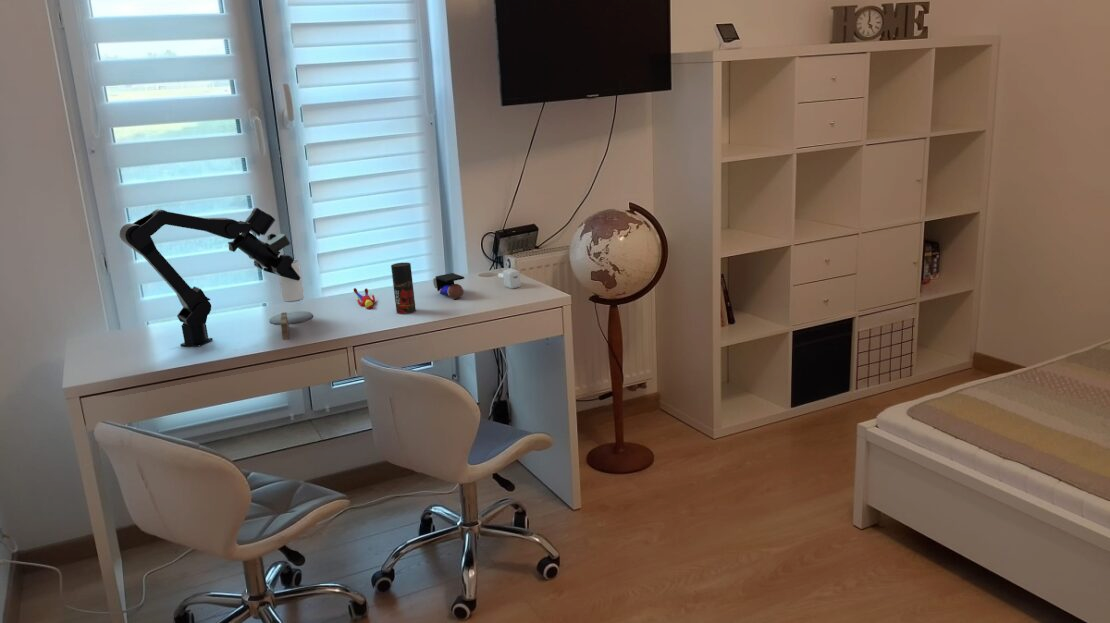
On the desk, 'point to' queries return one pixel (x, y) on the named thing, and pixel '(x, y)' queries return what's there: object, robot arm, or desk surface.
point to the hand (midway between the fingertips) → (294, 277)
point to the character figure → (365, 299)
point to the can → (292, 286)
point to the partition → (284, 326)
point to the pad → (292, 317)
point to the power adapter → (510, 278)
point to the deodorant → (403, 288)
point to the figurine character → (449, 285)
